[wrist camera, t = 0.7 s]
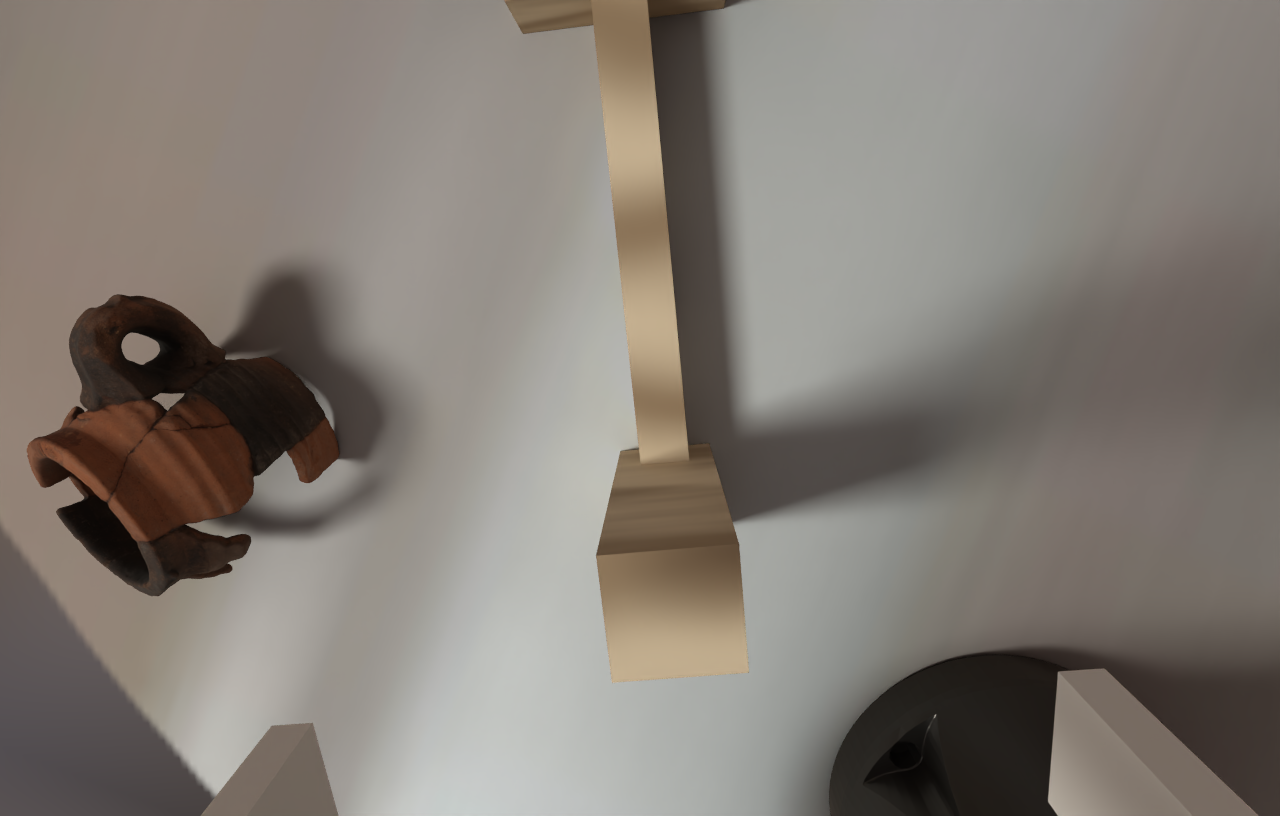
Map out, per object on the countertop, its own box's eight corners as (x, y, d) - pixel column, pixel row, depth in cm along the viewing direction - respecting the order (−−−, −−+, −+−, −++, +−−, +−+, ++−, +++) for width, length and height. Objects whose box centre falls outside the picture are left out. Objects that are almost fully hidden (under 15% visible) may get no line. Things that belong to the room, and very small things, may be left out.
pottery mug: (380, 508, 30) (215, 637, 24) (261, 484, 34) (94, 588, 28) (274, 259, 25) (24, 339, 18) (149, 269, 29) (-87, 336, 23)
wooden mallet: (759, 523, 29) (818, 667, 18) (587, 537, 29) (544, 687, 19) (720, -35, 24) (768, -281, 14) (517, -8, 25) (408, -227, 14)
